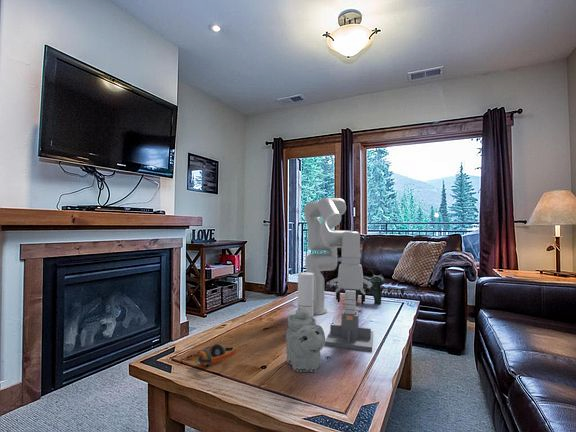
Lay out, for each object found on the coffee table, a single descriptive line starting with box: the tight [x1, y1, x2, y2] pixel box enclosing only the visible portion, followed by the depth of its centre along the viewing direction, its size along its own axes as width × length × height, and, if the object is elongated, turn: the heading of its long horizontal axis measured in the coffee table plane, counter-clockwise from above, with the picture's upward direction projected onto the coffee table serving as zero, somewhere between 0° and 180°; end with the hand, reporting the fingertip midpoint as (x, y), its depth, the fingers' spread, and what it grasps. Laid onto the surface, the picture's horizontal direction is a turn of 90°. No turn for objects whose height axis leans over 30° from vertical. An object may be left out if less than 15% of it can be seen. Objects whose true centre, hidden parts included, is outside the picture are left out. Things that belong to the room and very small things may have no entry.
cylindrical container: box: [297, 271, 314, 318], centre depth 141 cm, size 7×7×25 cm
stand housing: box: [324, 309, 374, 352], centre depth 128 cm, size 18×18×11 cm
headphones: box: [180, 343, 237, 367], centre depth 107 cm, size 17×5×20 cm
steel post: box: [344, 289, 357, 315], centre depth 128 cm, size 4×4×18 cm
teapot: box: [285, 306, 326, 373], centre depth 103 cm, size 16×15×19 cm
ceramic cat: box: [352, 269, 385, 305], centre depth 190 cm, size 20×6×20 cm, turn 58°
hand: (350, 302), depth 128 cm, fingers open, 9 cm apart
